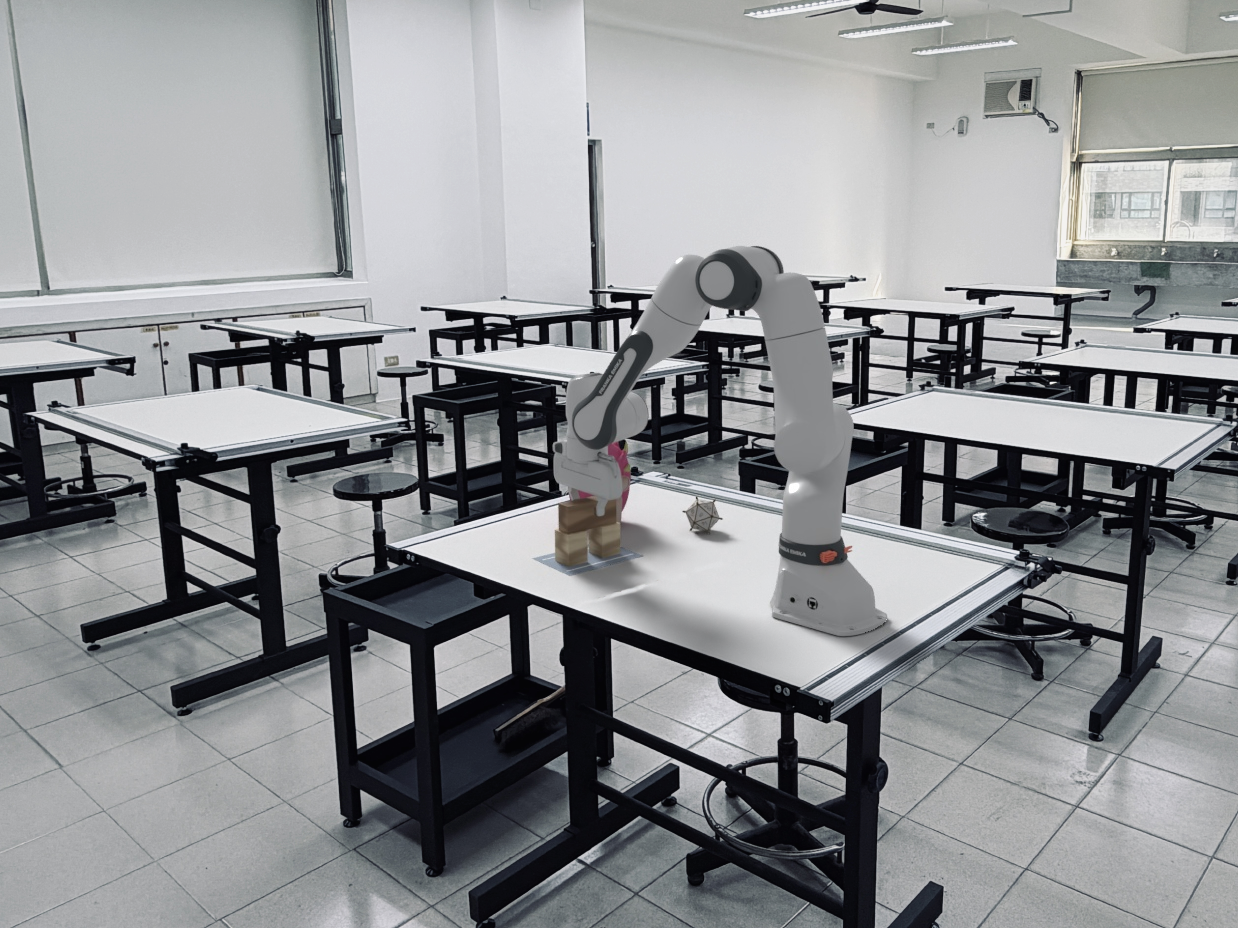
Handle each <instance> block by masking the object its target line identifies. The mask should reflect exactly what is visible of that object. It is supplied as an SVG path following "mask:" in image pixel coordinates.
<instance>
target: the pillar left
mask: <svg viewBox="0 0 1238 928" xmlns="http://www.w3.org/2000/svg"><path fill="white" fill-rule="evenodd" d="M588 544H589V540H588V530H584V531H580V532H576V533H571V534H566V533H564V532H562V531H559V528H557V529H554V553H555V561H557V562H559V563H561V564H563V565H566V566H568V567H570V566H574V565H578V564H582V563H586V562H588Z"/></svg>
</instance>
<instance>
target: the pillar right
mask: <svg viewBox="0 0 1238 928" xmlns="http://www.w3.org/2000/svg"><path fill="white" fill-rule="evenodd" d="M587 538H588V544H589V553H591V554H594V555H596V556H598V557H601V558H605V557H609V556H613V555H617V554H620V547H621V522H616V523H614V524H609V525H605V526H601V527H597V528H593V529H588V530H587Z"/></svg>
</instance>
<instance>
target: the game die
mask: <svg viewBox="0 0 1238 928" xmlns="http://www.w3.org/2000/svg"><path fill="white" fill-rule="evenodd" d="M715 502H716V499H713V500H712V501H710V500H705V499H699V498H698V496H697V495H696V496H695V501H694V502H693V503H692V504H691V505H690V506H689V507H688V508H687V509H686V510H681V511H682V513H684V514H686V517H687V520H688V522H689V523H688V524H689V525H690V528H689V532H690V531H691V532H692V530H699V531H704V532H706V533H707V534H708V535H710V530H711V529H712V528H713V527H714V525H716V524H717V522H718V521H719V520H720V521H722V520H723V517H720V515H719V513H718V512H719V511H718V510H717V508H716V504H715Z"/></svg>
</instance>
